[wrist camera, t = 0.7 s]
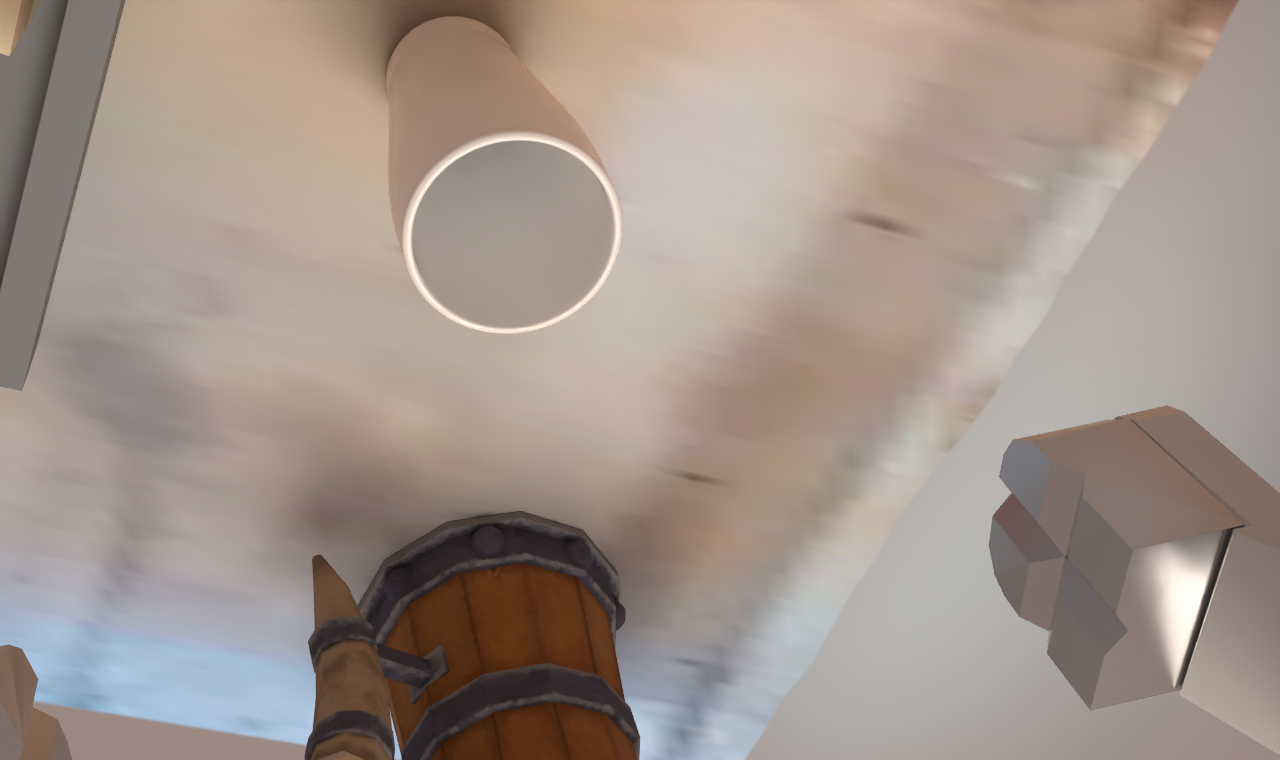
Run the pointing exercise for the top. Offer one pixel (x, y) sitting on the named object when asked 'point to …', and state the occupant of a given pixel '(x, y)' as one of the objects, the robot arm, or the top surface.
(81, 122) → the guide channel
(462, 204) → the white tumbler
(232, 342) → the top surface
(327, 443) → the top surface
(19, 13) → the block
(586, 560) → the mug
